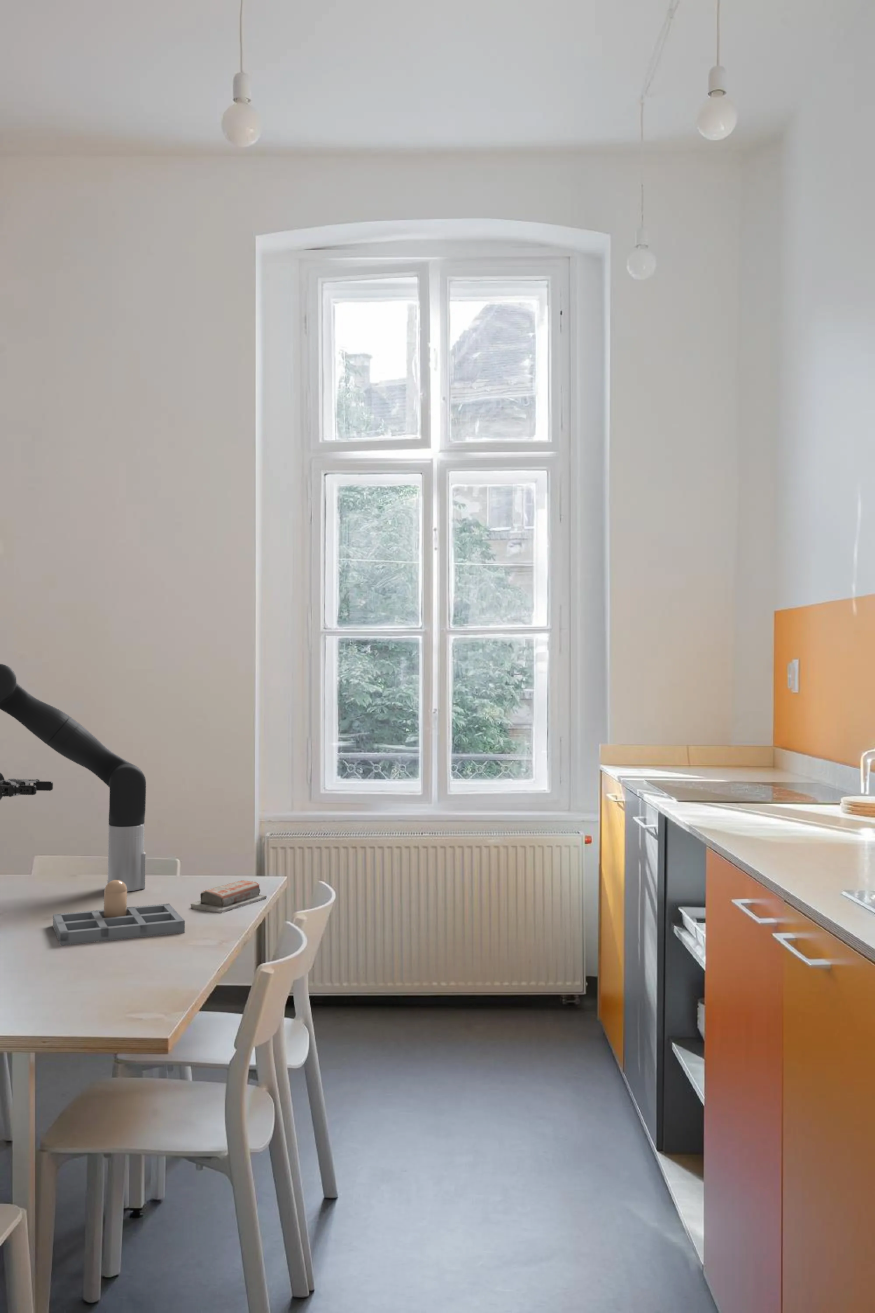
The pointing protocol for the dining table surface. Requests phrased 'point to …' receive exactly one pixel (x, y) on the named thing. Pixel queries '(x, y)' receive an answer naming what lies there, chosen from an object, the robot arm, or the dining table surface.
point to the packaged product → (229, 896)
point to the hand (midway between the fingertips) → (44, 788)
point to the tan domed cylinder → (115, 899)
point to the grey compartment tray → (117, 924)
